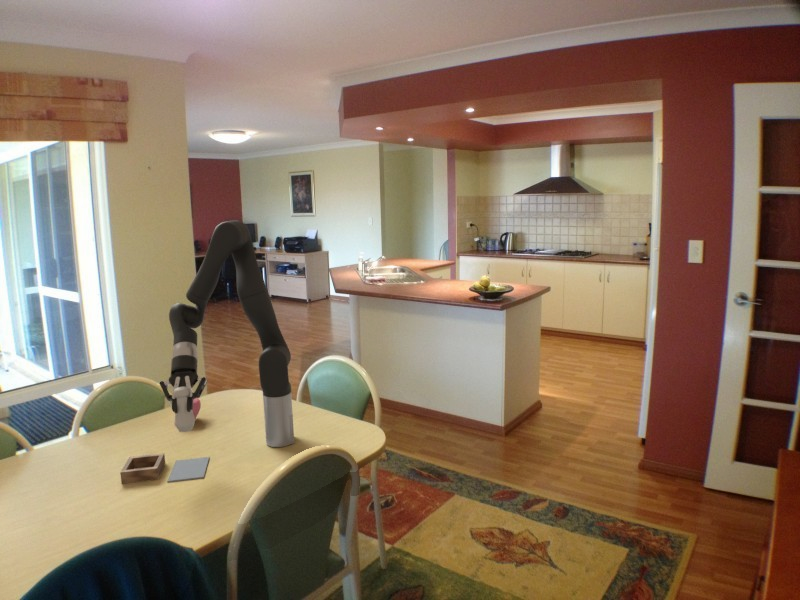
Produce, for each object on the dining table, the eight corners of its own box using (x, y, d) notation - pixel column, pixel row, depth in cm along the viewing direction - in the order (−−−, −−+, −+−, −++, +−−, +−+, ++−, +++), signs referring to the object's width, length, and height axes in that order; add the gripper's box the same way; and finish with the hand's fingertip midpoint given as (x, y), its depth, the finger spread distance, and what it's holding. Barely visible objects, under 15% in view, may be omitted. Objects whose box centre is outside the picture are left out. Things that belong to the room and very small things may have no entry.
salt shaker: (188, 433, 160) (184, 391, 157) (171, 432, 161) (166, 391, 158) (199, 425, 165) (195, 384, 163) (182, 424, 166) (178, 384, 164)
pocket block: (165, 463, 170) (164, 453, 169) (158, 479, 160) (157, 468, 159) (130, 467, 168) (129, 456, 167) (121, 483, 158) (120, 472, 157)
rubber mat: (209, 458, 173) (209, 456, 173) (203, 478, 160) (203, 476, 160) (175, 461, 171) (175, 460, 171) (167, 482, 158) (167, 481, 158)
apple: (178, 417, 206) (175, 392, 204) (202, 414, 208) (200, 389, 207) (176, 427, 197) (173, 401, 195) (201, 424, 199) (199, 398, 198)
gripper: (157, 356, 165) (153, 409, 155) (206, 351, 168) (205, 403, 158) (163, 367, 171) (159, 419, 162) (210, 363, 174) (209, 413, 164)
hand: (182, 411), depth 160 cm, fingers closed on salt shaker, 3 cm apart
